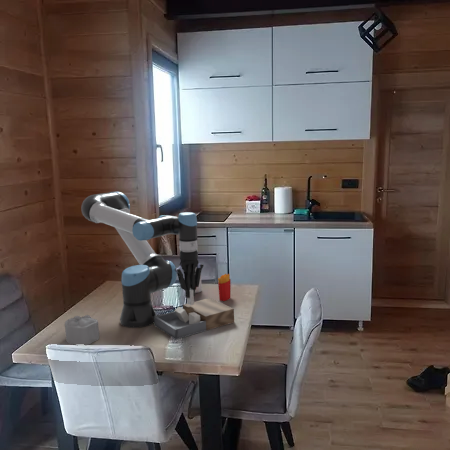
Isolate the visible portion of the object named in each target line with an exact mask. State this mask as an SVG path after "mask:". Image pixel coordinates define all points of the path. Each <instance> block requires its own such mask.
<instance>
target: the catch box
mask: <svg viewBox="0 0 450 450" xmlns="http://www.w3.org/2000/svg"><path fill="white" fill-rule="evenodd" d="M153 324H154V327H156V328H157V329H159V330H160V331H161V332H163V331H164V332H163V333H165V334H166V333H167V335H168V336H170V337H171V338H173V339H174V338H175V339H174V340H179V339H181V338H186V337H188V336H192V334H193V335H195V334H199V333H203V332H206V331H207V330H206V321H205V320H204V321H201V322H197V323H193V324H190V325H189V320H188V321H187V322H186V323H185V322H183V321H181V320H180V319H179V318H178V316H177V314H176V312H175V311H170V312H168V313H167V312H166V313H163V314H158V315H156V316H154V323H153ZM185 336H186V337H185Z"/></svg>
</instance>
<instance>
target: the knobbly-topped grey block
mask: <svg viewBox="0 0 450 450" xmlns="http://www.w3.org/2000/svg"><path fill="white" fill-rule="evenodd" d="M64 330H65V341H66V342H67V343H68V344H69V343H70V345H73V344H84V345H85V346H89V345H91V344H92V343H94V342H96V341H98V340H99V339H100V330H99V320H98V319H96V318H94V317H92V316H90V315H88V314H86V315H84V316H80V315H75V316H74V317H70V318H68V319H66V320H65V322H64Z"/></svg>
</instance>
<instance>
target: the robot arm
mask: <svg viewBox="0 0 450 450" xmlns="http://www.w3.org/2000/svg"><path fill="white" fill-rule="evenodd" d="M80 207H81V208H80V210H81V214H82V216H83V217H84V218H85V219H86V220H88V221H90V222H92V223H95V224H105V225H108V226H111V227H113V228H114V229H115V230H116V231H117V233H118V235H119V236H120V237H121V239H122V240H123V242H124V243H125V244H126V246H127V247H128V250H129V251H130V252H131V254H132V255H133V256H134V258H135V259H136V261H137V263H138V264H137V265H131V266H129V267H126V268H125V269H124V270H122V272H121V281H120V282H121V287H122V288H121V289H122V290H121V291H122V300H123V301H122V303H123V305H122V310H121V314H120V316H119V319H120V320H119V323H120V325H121V326H123V327H126V328H132V329H133V328H143V327H148V326H151V325H152V324H154V316H157V313H156V311H155V309H154V306H153V304H152V294H155V293H156V292H159V291H162V290H166V289H168V288H169V287H172V286H173V285H174V284H175V283H176V280H177V278H178V281H179V285H180V286H179V287H180V289H181V290H183V291H185V297H186V298H187V301H186V302H187V303H186V304H189V305H194V302H195V300H194V297H195V295H196V293H195V290H196V287H199V282H200V276H201V277H202V271H203V268H204V264H203V263H200V262H199V251H198V250H199V249H198V245H199V244H198V219H197V214H196V213H195V212H191V211H190V212H187V211H185V212H180V213H179V214H178V216H176V215H175V216H174V215H169V214H166V215H165V214H164V215H162V214H161V215H159V216H158V217H157V218H153V219H147V218H145V217H140V216H138V215H135V214H132V213H131V204H130V200H129V198H128V196H127V195H126V194H124V193H123V192H121V191H110V192H103V193H97V194H91V195H88V196H87V197H86V198H84V199H83V201H82V203H81V206H80ZM166 235H176V236H177V235H178V238H179V239H178V240H179V250H180V251H179V260H180V263H179V266H178V267H176V265H175V264H174V263H173V261H171V260H168V259H166V260H165V259H164V257H163V256H162V255H161V254H157V253H156V252H155V250H154V249H153V248H152V246H151V245H150V243H149V242H148V240H151V239H155V238H160V237H162V236H166ZM196 267H197V268H196ZM195 269H196V272H195ZM190 288H191V289H190Z"/></svg>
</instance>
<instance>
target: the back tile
mask: <svg viewBox="0 0 450 450" xmlns="http://www.w3.org/2000/svg"><path fill="white" fill-rule="evenodd" d="M174 311H175V312H176V314H177V316H178V318H179V319H180V320H181V321H183V322H185V323H186V322H187V321H188V320H189V316H188V315H187V313H186V311H185V310H184V309H183V307H181V306H178V307H177V308H176V309H174ZM174 311H173V312H174Z"/></svg>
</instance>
